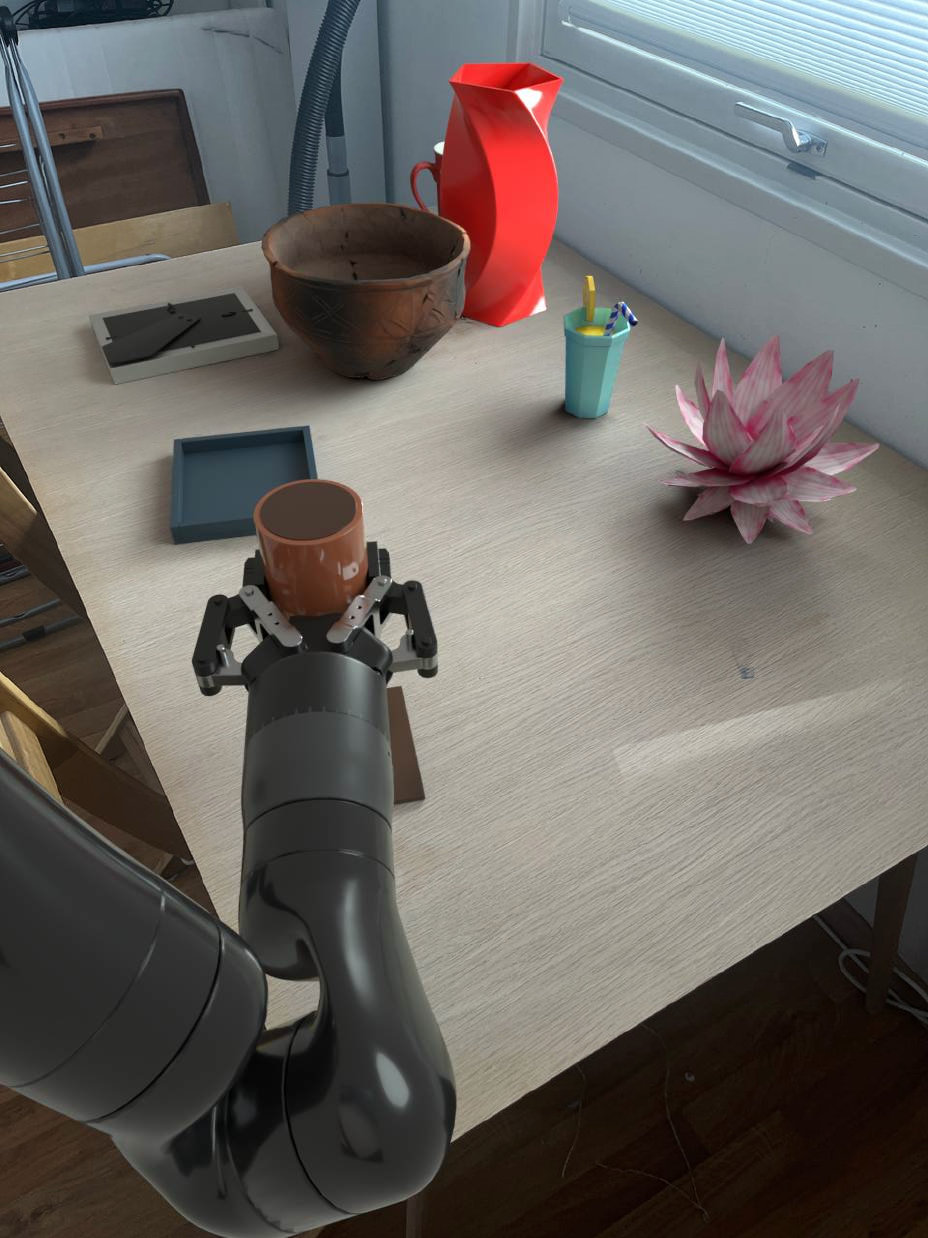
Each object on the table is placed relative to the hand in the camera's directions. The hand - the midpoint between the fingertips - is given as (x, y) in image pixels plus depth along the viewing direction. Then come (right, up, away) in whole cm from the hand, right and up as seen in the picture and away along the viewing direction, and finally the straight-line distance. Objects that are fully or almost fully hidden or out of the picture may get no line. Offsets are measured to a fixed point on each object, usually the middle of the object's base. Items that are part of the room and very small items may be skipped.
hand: (318, 555), depth 57 cm
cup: (+24, +20, +47) cm, 57 cm away
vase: (+13, +40, +67) cm, 79 cm away
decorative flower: (+38, +8, +35) cm, 52 cm away
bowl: (-2, +30, +56) cm, 63 cm away
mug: (+7, +56, +83) cm, 100 cm away
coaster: (0, -14, +11) cm, 18 cm away
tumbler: (0, -7, +4) cm, 8 cm away
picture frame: (-27, +32, +59) cm, 72 cm away
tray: (-13, +9, +35) cm, 39 cm away
